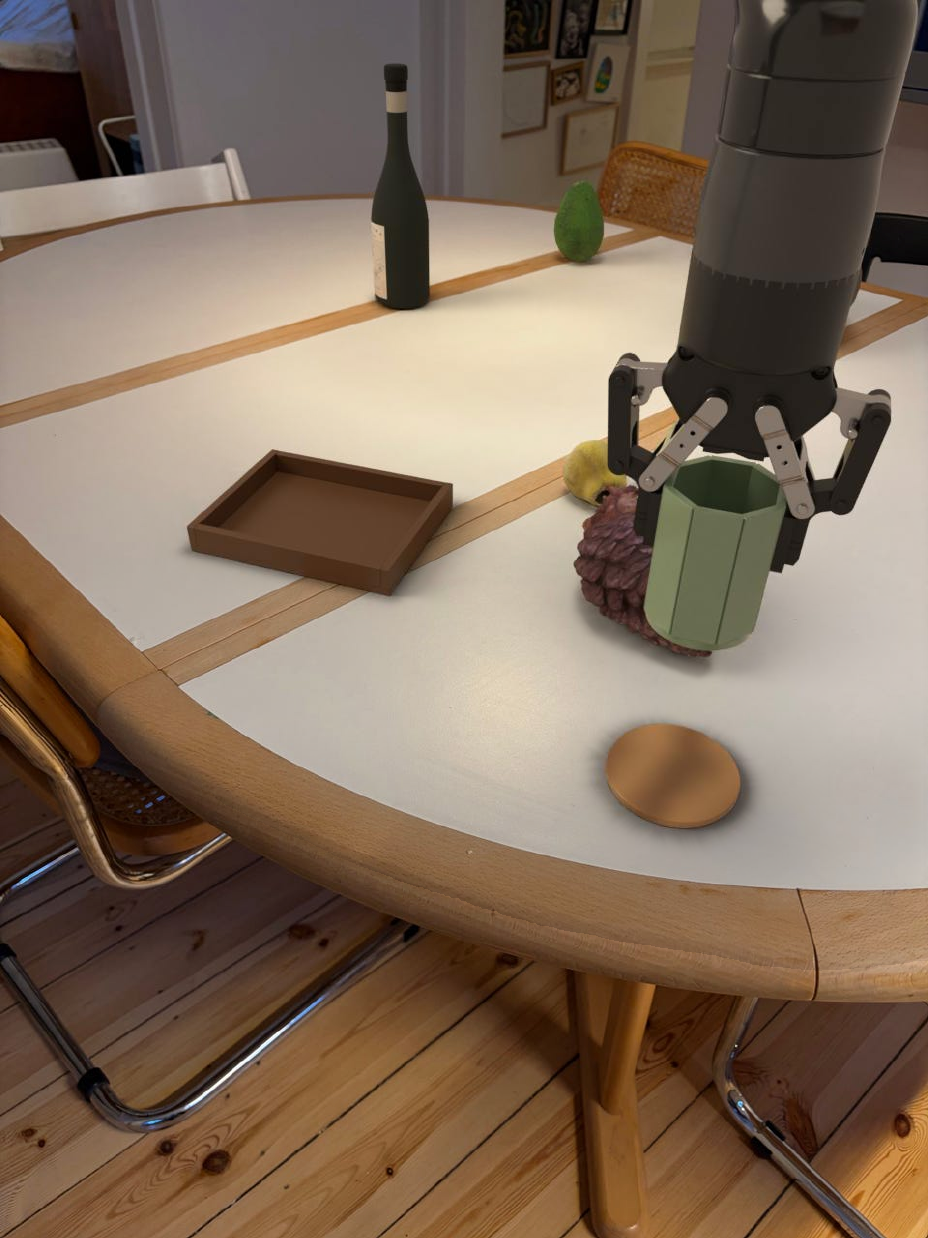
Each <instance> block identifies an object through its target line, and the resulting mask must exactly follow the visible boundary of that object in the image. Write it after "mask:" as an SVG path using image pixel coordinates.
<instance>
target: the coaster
mask: <svg viewBox="0 0 928 1238" xmlns="http://www.w3.org/2000/svg"><path fill="white" fill-rule="evenodd" d="M740 775H741V774H740V771H739V769H738V767H737V764H736V762H735V760H734V759H733V757H732V756H731V754H730V753H729V752H728V751H727V750H726V749H725V748H724V747H723V746H722V745H721V744H720V743H718V742H717V741H716V740H715V739H713V738H711V737H710V736H708V735H706V734H704V733H703V732H700V731H697V730H696V729H693V728H689V727H686V726H681V725H677V724H668V723H654V724H653V723H651V724H647V725H642V726H641V725H640V726H638V727H635V728H632V729H630V730H628V731H627V732H625V733H623V734H621V736H619V737H617V739H616V740H615V741H614V742H613V744H612V745H611V746H610V748H609V751H608V753H607V756H606V760H605V777H606V781H607V784H608V786H609V788H610V790H611V792H612V794H613V795H614V796H615V798H616V799H617V800H618V801H619V802H620V803H621V804H622V806H624V807H625V808H626V809H627V810H629V811H630V812H632V813H633V814H635V815H636V816H638V817H640V818H641V819H644V820H646V821H648V822H651V823H654V824H657V825H660V826H665V827H668V828H678V829H693V828H699V827H704V826H707V825H710V824H713V823H715V822H717V821H719V820H720V819H722V818H724V817H725V816H726V815H727V814H728V813H729V812H730V811H731V810H732V809H733V808H734V806H735V804H736V802H737V800H738V797H739V794H740V790H741V776H740Z"/></svg>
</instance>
